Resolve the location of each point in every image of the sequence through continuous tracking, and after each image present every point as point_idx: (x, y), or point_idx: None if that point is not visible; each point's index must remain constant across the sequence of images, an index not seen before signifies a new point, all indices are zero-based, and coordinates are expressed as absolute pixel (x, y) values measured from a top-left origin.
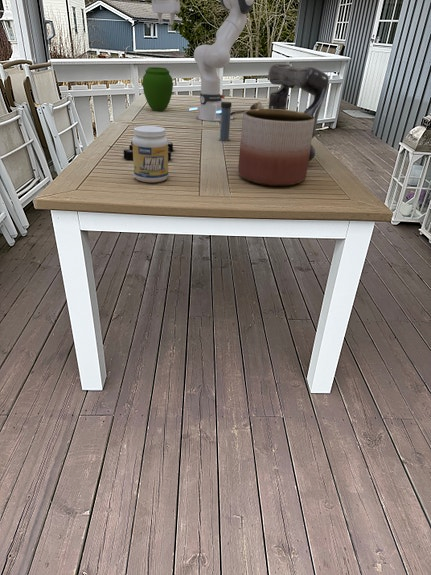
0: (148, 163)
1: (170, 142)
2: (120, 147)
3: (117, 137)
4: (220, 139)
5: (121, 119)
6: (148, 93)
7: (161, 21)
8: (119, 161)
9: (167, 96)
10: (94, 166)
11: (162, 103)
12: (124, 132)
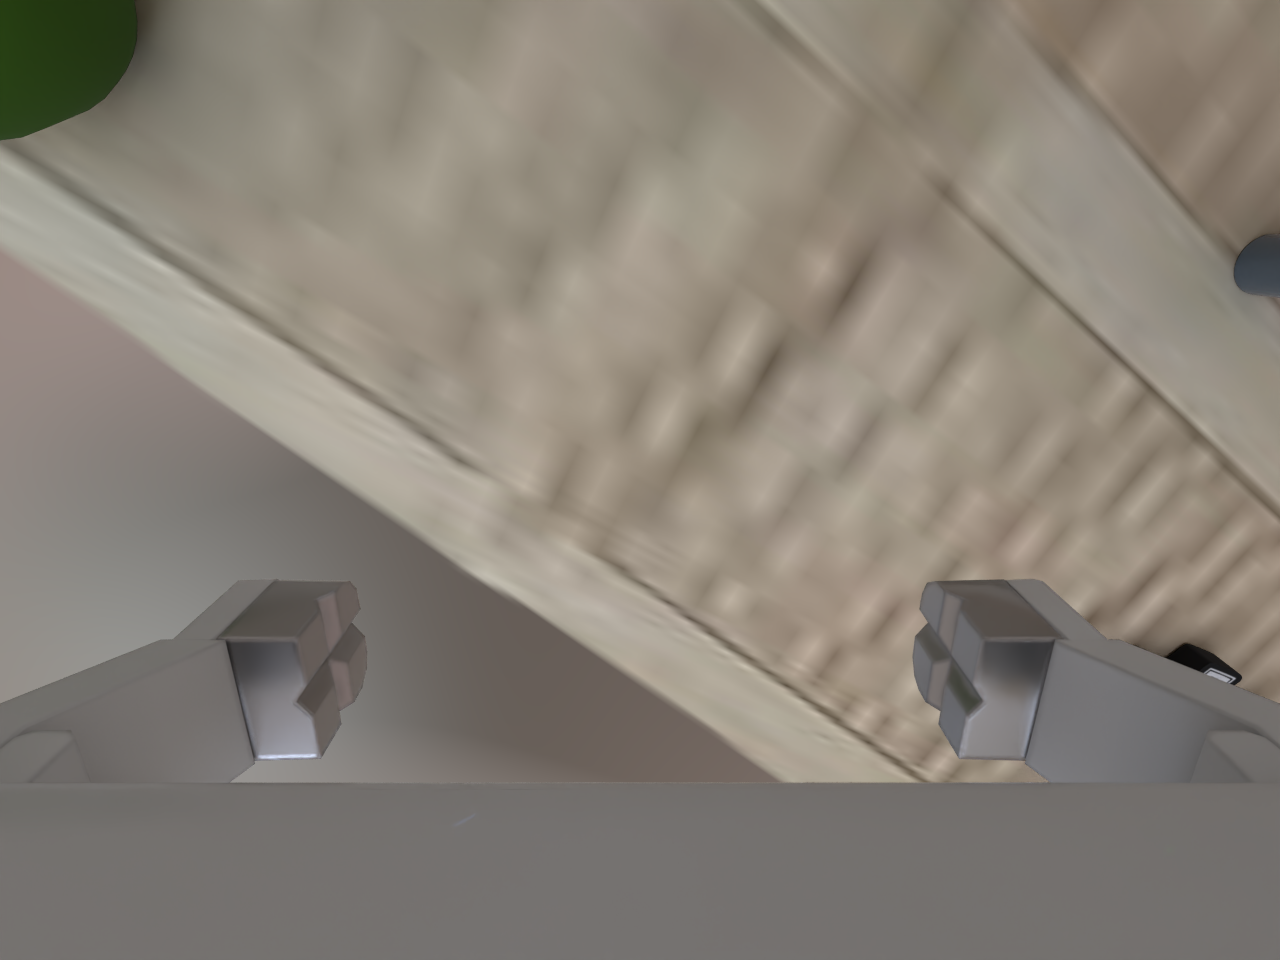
0: None
1: (1211, 668)
2: None
3: (827, 725)
4: (1254, 294)
5: (392, 502)
6: (20, 134)
7: (330, 677)
8: None
9: None
10: None
11: (132, 15)
12: (746, 652)
